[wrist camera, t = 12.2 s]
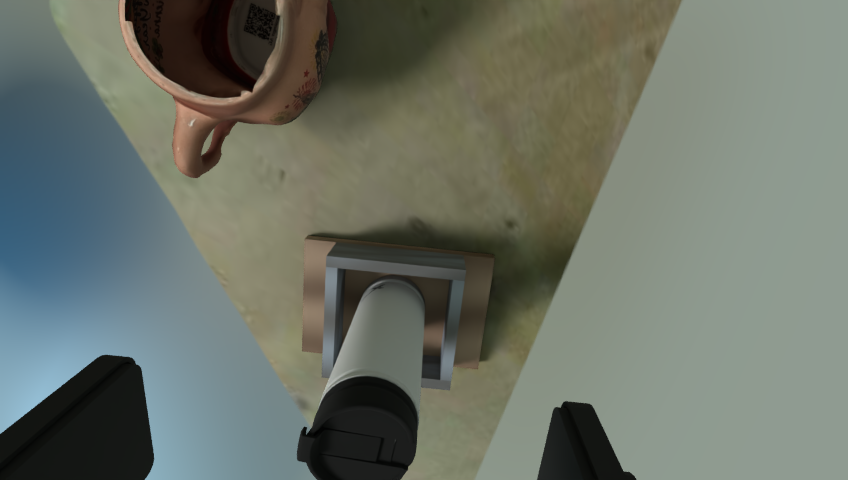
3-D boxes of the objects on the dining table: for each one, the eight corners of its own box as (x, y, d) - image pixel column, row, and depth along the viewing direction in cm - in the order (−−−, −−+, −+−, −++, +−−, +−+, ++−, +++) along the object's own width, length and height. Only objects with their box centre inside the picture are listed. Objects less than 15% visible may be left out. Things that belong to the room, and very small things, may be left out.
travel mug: (364, 267, 42) (303, 399, 23) (431, 282, 42) (427, 424, 23) (353, 325, 44) (288, 492, 25) (417, 338, 44) (403, 515, 25)
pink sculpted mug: (318, 185, 41) (262, 223, 28) (189, 144, 40) (68, 162, 27) (378, -48, 36) (343, -142, 22) (230, -102, 35) (102, -233, 21)
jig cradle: (308, 235, 42) (291, 252, 38) (493, 254, 43) (501, 273, 38) (305, 345, 46) (289, 374, 41) (476, 362, 46) (481, 393, 41)
